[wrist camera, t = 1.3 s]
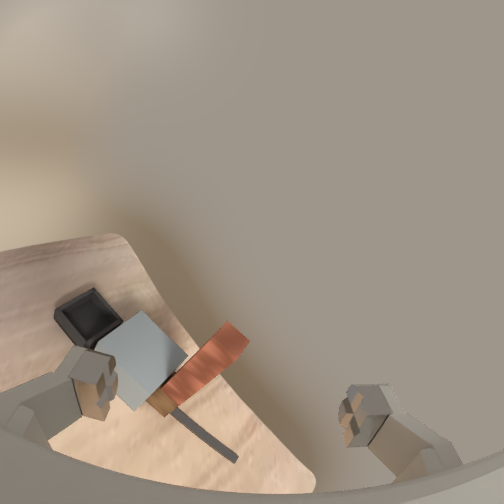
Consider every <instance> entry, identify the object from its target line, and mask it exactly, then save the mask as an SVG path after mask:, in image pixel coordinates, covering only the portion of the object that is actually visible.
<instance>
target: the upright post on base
mask: <svg viewBox="0 0 504 504" xmlns="http://www.w3.org/2000/svg"><path fill="white" fill-rule="evenodd" d="M249 342H250V341H249V340H248V339H247V338H246V337H245V336H244V335H243V334H241V333H240V332H239V331H238V330H237V329H236V328H235V327H234V326H232V325H231V324H230V323H229V322H228V321H227V322H226V323H225V324H224V325H223V326H222V327H221V328H220V329H219V330H218V331H217V332H216V333H215V334H214V335H213V336H212V337H211V338H210V339H209V340H208V341H207V342H206V343H205V344H204V345H203V347H201V348H200V349H199V350H198V351H197V352H196V353H195V354H194V355H193V356H192V357H191V358H190V359H189V360H188V361H187V362H186V363H185V364H184V365H183V366H182V367H181V368H180V369H179V370H178V371H177V372H175V371H173V372H172V373H171V374H170V376H169V377H168V378H167V379H166V380H165V381H164V382H163V383H162V384H161V385H160V386H159V387H158V388H157V389H156V390H155V391H154V392H153V393H152V394H151V395H150V396H149V397H148V398H147V399H146V401H147V402H148V403H149V404H150V405H151V406H152V407H153V408H155V409H156V410H157V411H158V412H159V413H160V414H161V415H162V416H164V417H165V416H167V415H168V414H169V413H170V412H172V411H173V410H174V409H176V408H177V406H179V405H181V404H182V403H183V402H185V401H186V400H187V399H188V398H190V397H191V396H192V395H193V394H195V393H196V392H197V391H199V390H200V389H201V388H202V387H204V386H205V385H206V384H207V383H209V382H210V381H211V380H212V379H213V378H215V377H216V376H217V375H218V374H220V373H221V372H222V371H223V370H224V369H226V368H227V367H228V366H229V365H230V364H231V363H233V362H234V361H235V360H236V359H238V357H239V356H240V354H241V353H242V352H243V350H244V349H245V347H246V346H247V344H248V343H249Z"/></svg>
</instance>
